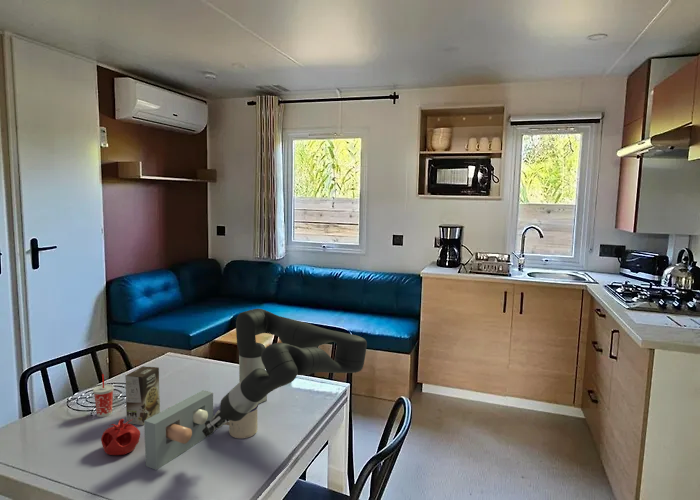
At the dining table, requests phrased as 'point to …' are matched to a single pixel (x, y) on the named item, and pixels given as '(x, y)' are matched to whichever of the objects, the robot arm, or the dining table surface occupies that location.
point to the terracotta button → (178, 433)
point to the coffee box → (142, 394)
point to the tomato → (120, 438)
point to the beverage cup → (103, 399)
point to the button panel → (181, 414)
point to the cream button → (200, 416)
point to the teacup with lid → (244, 425)
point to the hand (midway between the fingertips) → (205, 432)
